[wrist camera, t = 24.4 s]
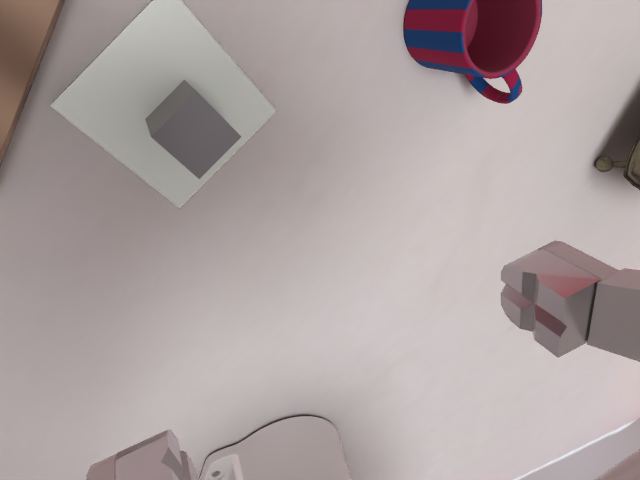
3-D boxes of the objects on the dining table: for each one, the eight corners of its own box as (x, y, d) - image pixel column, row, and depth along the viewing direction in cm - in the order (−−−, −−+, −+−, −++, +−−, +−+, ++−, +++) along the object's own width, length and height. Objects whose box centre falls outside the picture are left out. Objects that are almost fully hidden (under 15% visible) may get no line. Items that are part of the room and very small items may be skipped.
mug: (462, -46, 33) (534, -57, 27) (490, 76, 38) (555, 86, 33) (390, 2, 32) (449, 0, 27) (430, 118, 38) (485, 137, 32)
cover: (177, 203, 33) (189, 237, 28) (52, 102, 27) (38, 122, 22) (272, 107, 32) (301, 125, 27) (165, -14, 27) (178, -21, 22)
